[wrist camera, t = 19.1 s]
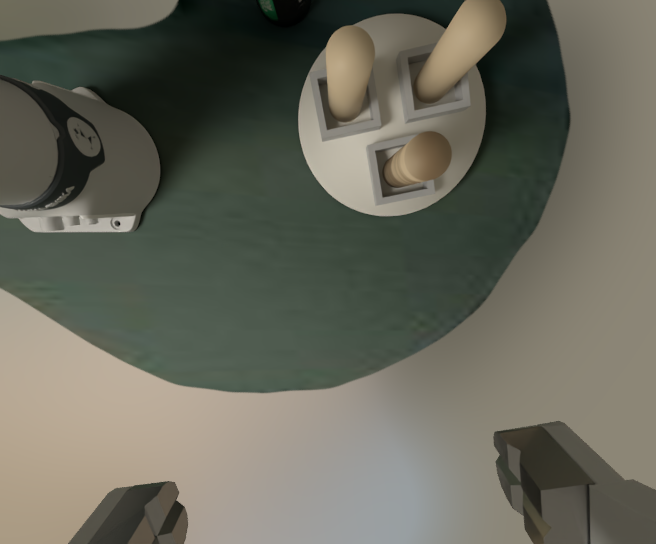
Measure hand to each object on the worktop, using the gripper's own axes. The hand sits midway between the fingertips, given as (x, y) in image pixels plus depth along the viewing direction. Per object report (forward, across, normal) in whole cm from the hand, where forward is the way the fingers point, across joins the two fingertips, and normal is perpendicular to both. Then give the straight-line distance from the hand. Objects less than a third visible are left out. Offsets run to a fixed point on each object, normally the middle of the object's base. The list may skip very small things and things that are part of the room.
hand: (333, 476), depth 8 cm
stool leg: (+35, -10, -9) cm, 37 cm away
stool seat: (+37, -10, -15) cm, 41 cm away
